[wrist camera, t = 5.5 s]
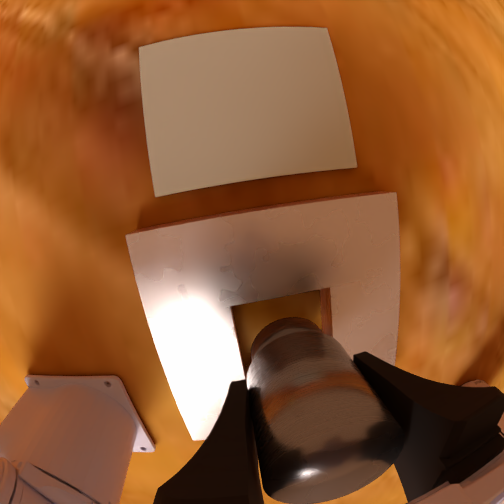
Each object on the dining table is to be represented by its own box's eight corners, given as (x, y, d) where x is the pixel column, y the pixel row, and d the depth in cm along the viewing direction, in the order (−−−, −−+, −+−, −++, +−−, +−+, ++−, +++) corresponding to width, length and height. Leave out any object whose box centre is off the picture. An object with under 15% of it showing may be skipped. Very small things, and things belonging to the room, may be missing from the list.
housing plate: (194, 421, 18) (193, 440, 16) (136, 229, 15) (125, 235, 13) (378, 381, 19) (390, 396, 17) (378, 191, 16) (396, 192, 14)
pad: (157, 196, 15) (155, 197, 14) (140, 50, 13) (138, 47, 12) (353, 167, 15) (357, 167, 15) (324, 31, 13) (326, 27, 13)
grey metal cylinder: (250, 392, 15) (271, 513, 7) (235, 319, 14) (251, 447, 6) (332, 374, 15) (391, 478, 8) (329, 301, 14) (417, 398, 6)
